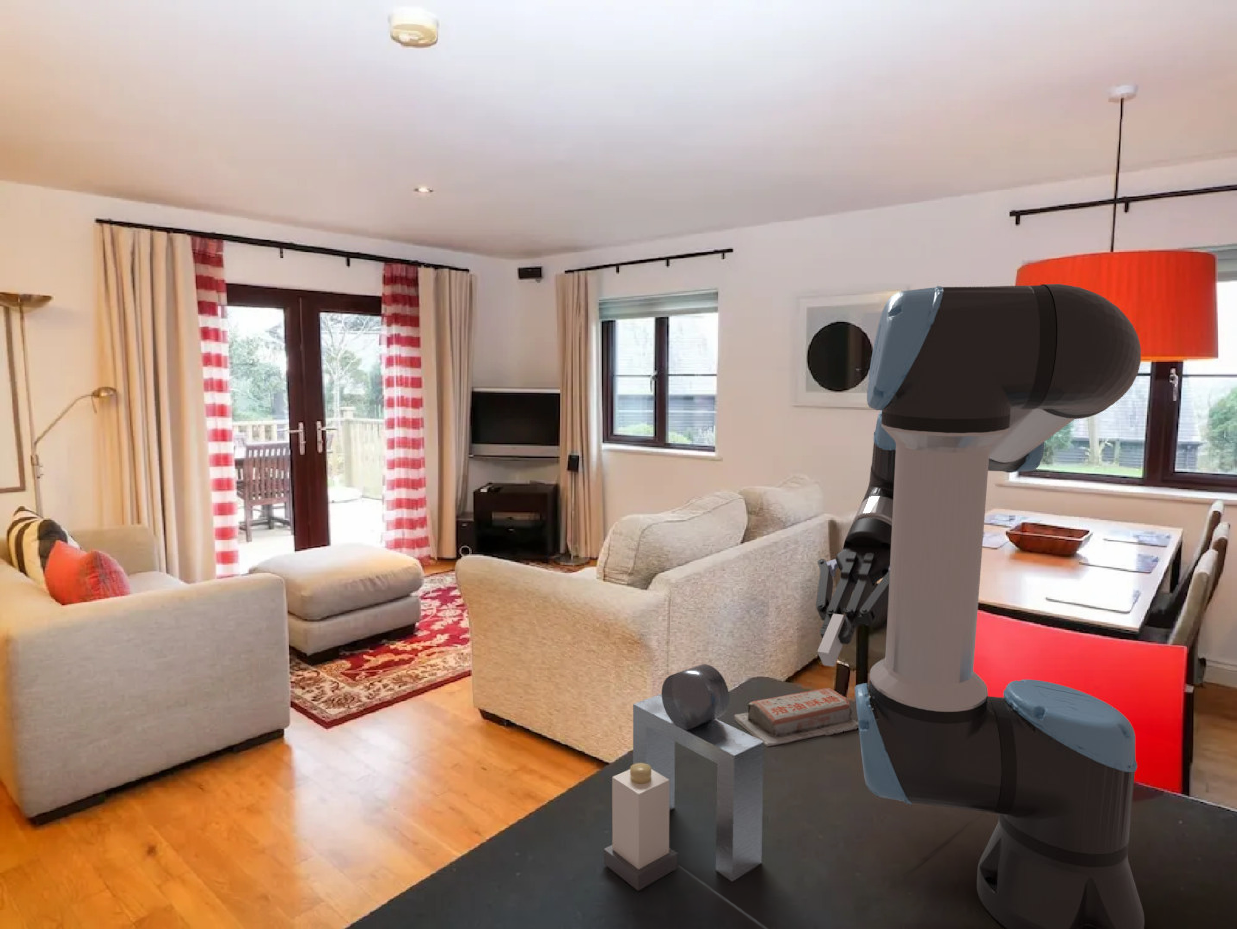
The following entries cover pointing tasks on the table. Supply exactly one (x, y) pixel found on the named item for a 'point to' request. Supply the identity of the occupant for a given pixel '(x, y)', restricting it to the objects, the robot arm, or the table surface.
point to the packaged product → (797, 716)
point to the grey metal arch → (737, 754)
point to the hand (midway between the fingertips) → (825, 659)
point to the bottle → (640, 827)
